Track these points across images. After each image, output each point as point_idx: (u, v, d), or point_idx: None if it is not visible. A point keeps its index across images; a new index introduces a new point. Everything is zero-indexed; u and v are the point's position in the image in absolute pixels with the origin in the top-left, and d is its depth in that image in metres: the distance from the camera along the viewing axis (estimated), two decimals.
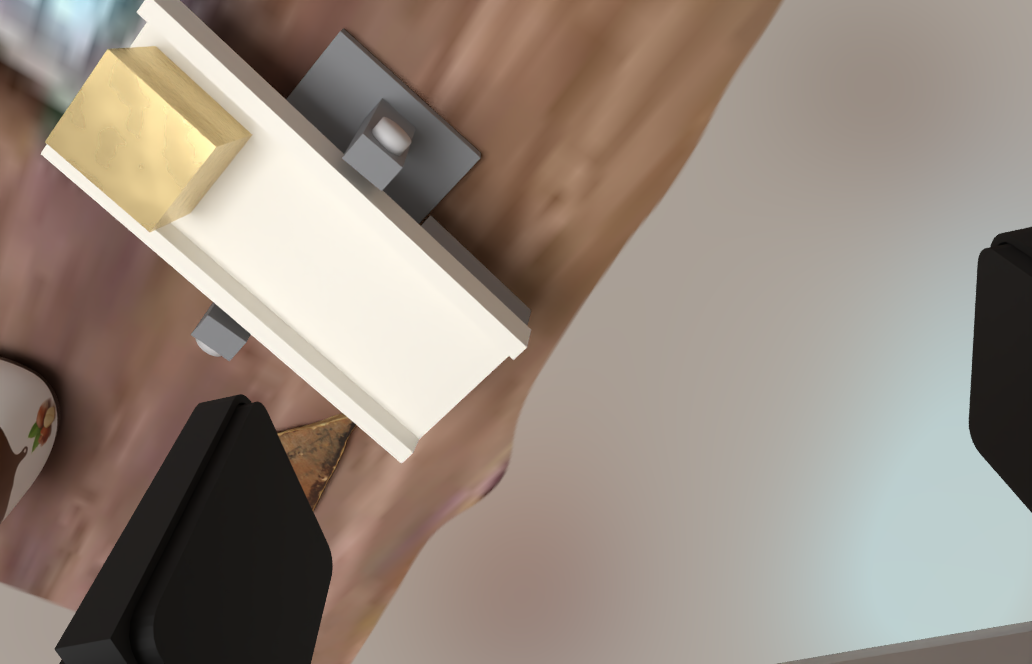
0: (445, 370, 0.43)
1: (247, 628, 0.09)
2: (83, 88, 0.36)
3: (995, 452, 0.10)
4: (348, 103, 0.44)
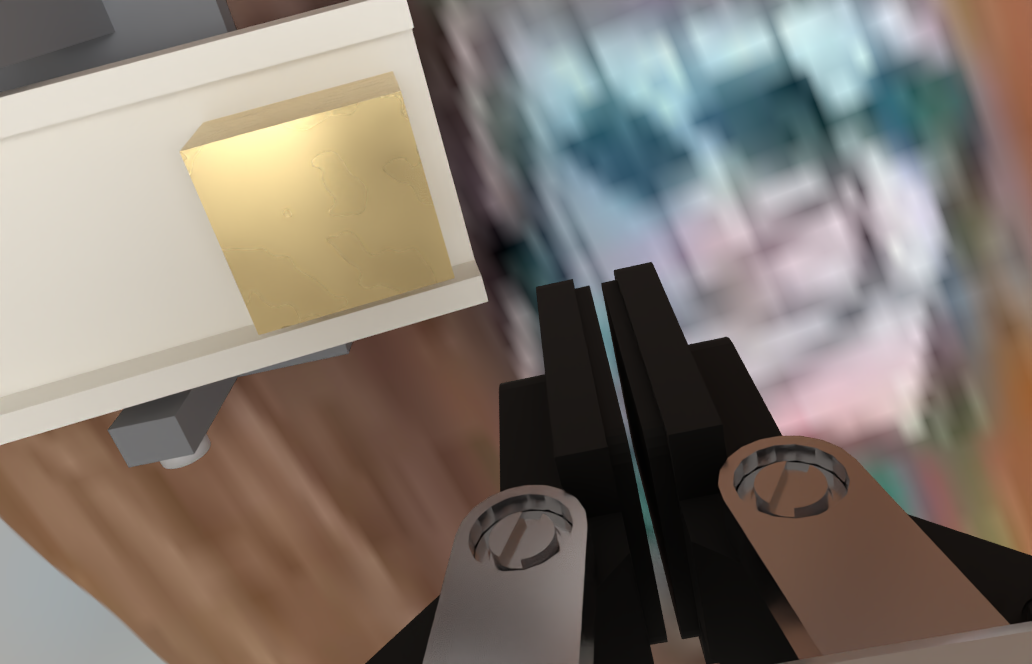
0: None
1: None
2: (432, 209, 0.23)
3: (637, 458, 0.11)
4: None
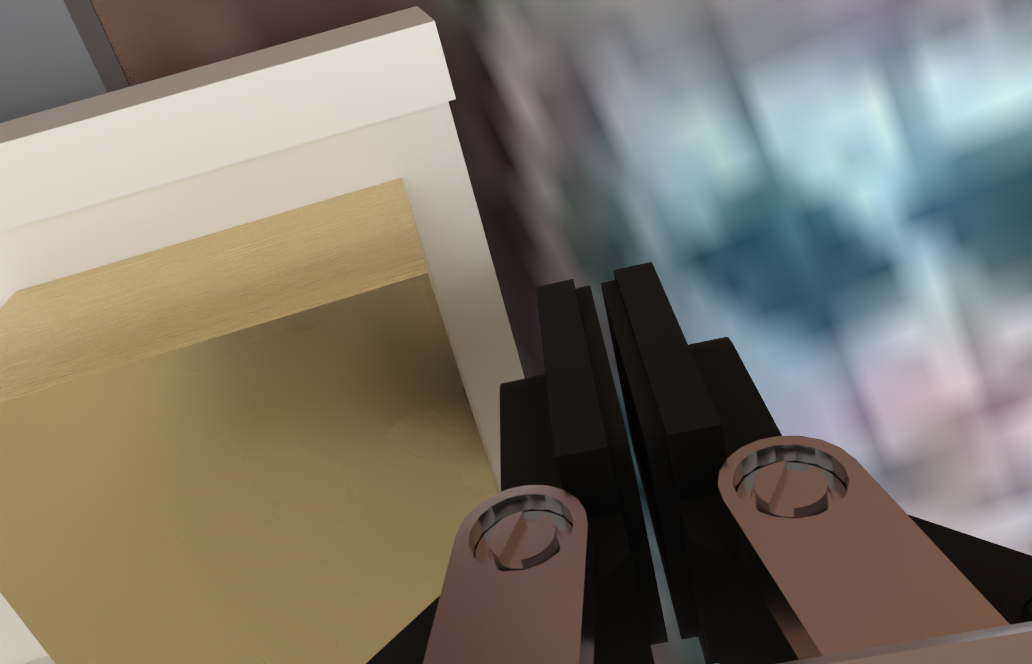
0: None
1: None
2: None
3: (636, 458, 0.11)
4: None
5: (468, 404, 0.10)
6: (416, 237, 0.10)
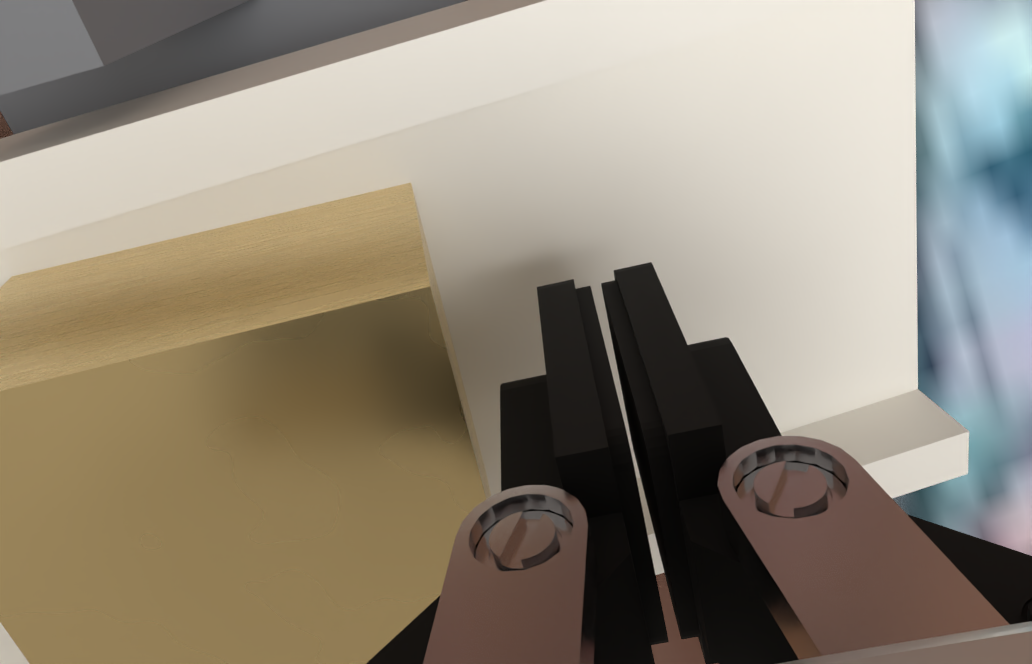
0: None
1: None
2: None
3: (636, 459, 0.11)
4: None
5: (464, 422, 0.09)
6: (421, 247, 0.10)
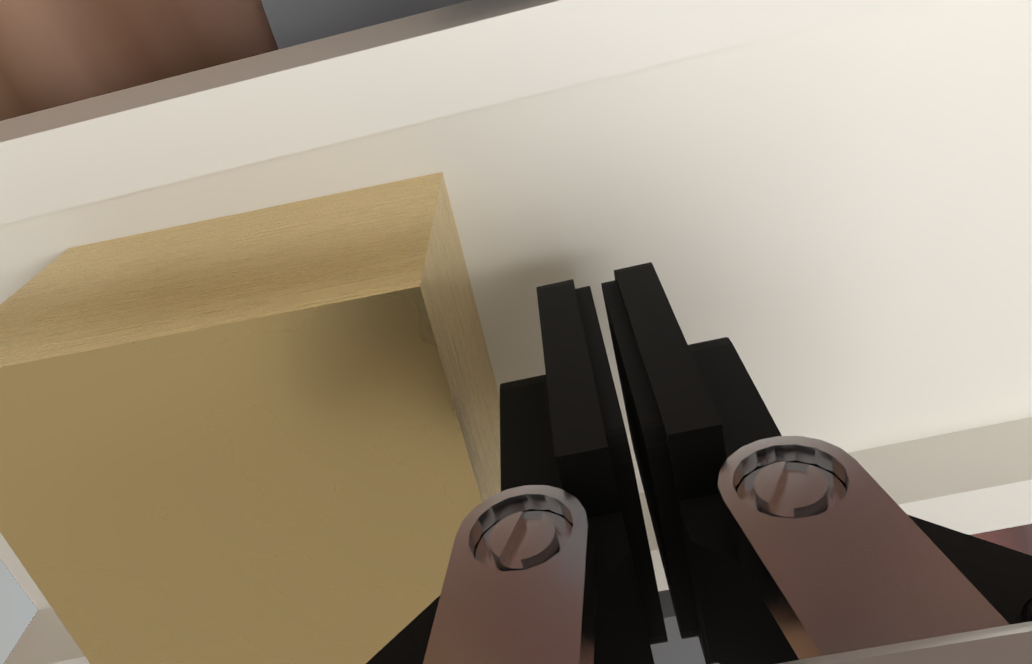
0: None
1: None
2: None
3: (636, 458, 0.11)
4: None
5: (458, 422, 0.09)
6: (427, 243, 0.10)
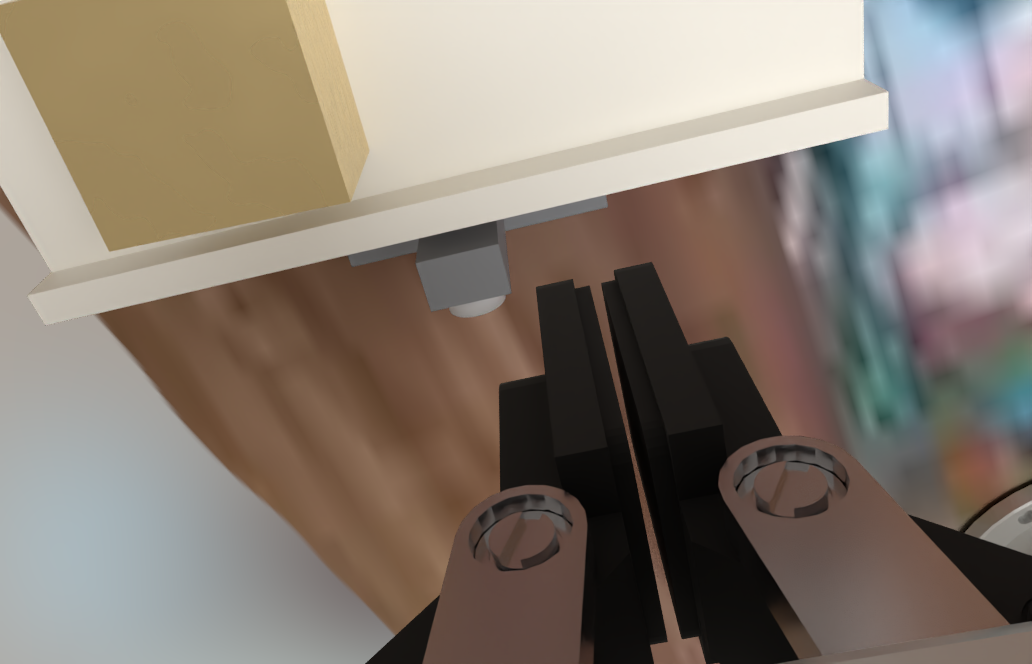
0: (42, 137, 0.22)
1: None
2: (317, 109, 0.18)
3: (636, 458, 0.11)
4: None
5: (297, 36, 0.17)
6: None
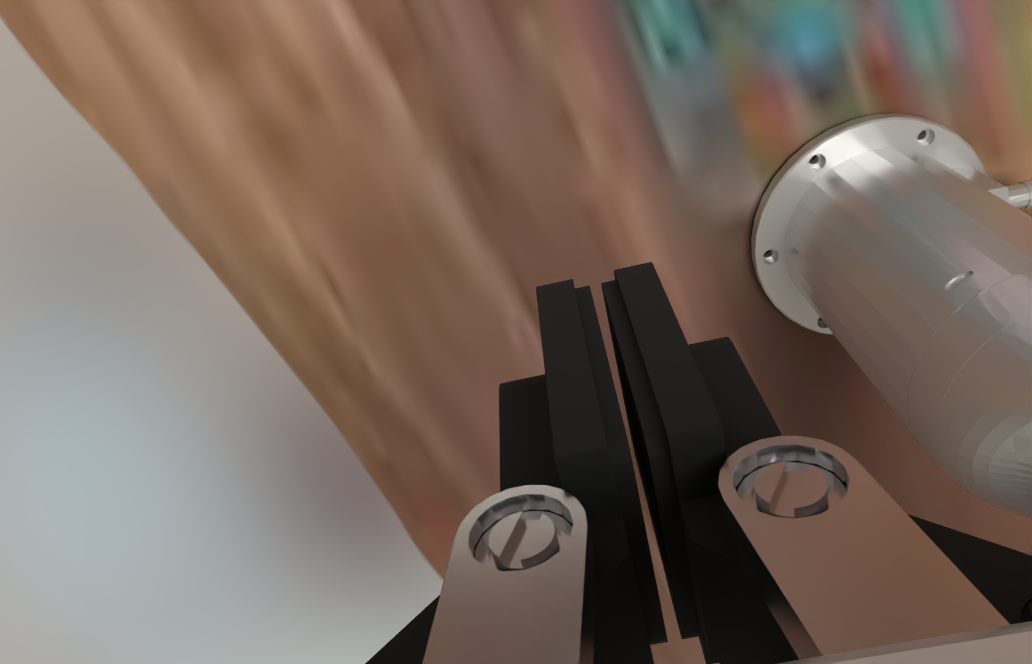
0: None
1: None
2: None
3: (636, 458, 0.11)
4: None
5: None
6: None
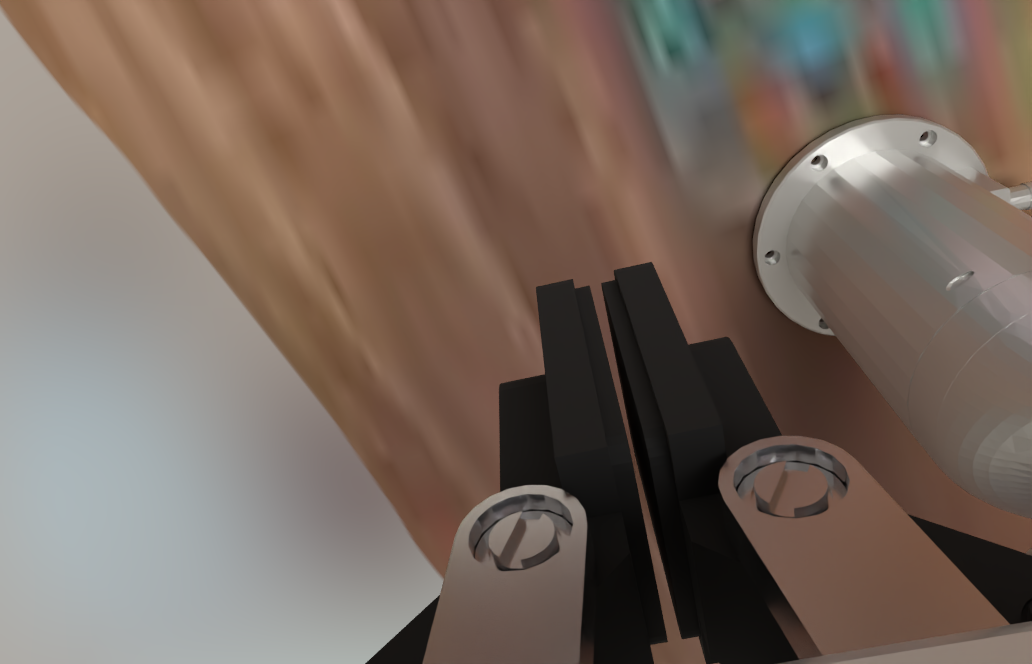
0: None
1: None
2: None
3: (637, 458, 0.11)
4: None
5: None
6: None
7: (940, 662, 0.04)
